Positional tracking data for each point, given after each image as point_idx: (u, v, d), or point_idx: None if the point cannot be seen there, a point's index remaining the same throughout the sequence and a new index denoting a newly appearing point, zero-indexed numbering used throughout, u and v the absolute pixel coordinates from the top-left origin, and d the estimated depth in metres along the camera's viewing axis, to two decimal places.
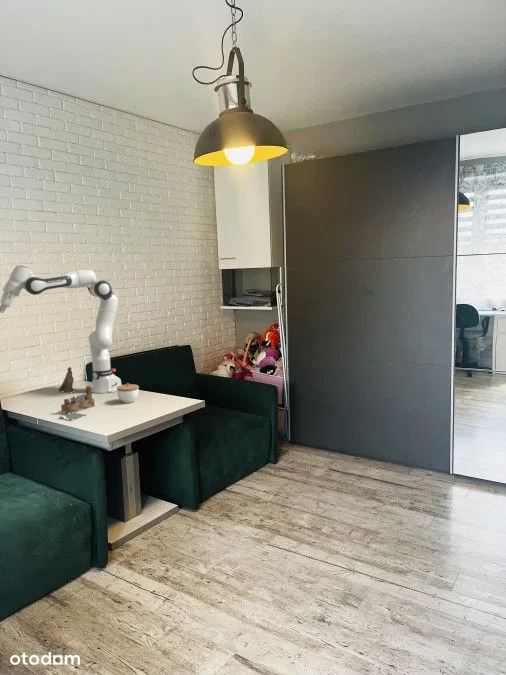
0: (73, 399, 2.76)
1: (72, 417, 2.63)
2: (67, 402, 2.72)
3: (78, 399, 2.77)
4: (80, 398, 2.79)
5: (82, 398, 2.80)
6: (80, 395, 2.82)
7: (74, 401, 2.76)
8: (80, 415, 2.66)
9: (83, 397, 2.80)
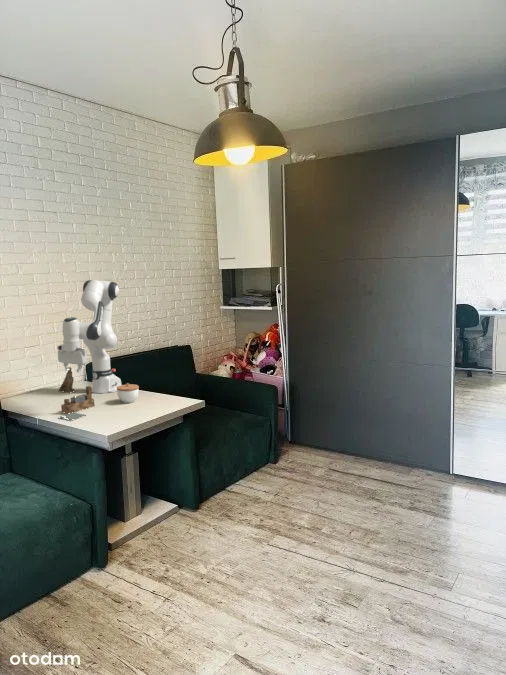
0: (73, 399, 2.76)
1: (72, 417, 2.63)
2: (67, 402, 2.72)
3: (78, 399, 2.77)
4: (80, 398, 2.79)
5: (82, 398, 2.80)
6: (80, 395, 2.82)
7: (74, 401, 2.76)
8: (80, 415, 2.66)
9: (83, 397, 2.80)
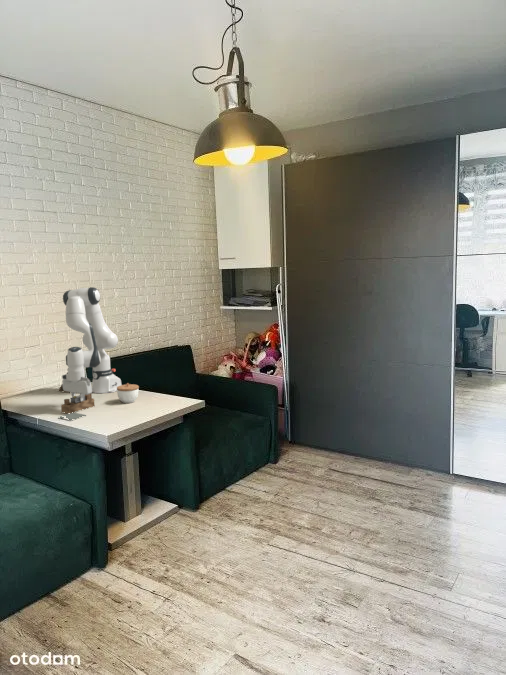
0: (73, 399, 2.76)
1: (72, 417, 2.63)
2: (67, 402, 2.72)
3: (78, 399, 2.77)
4: None
5: None
6: (80, 395, 2.82)
7: (74, 401, 2.76)
8: (80, 415, 2.66)
9: (83, 397, 2.80)
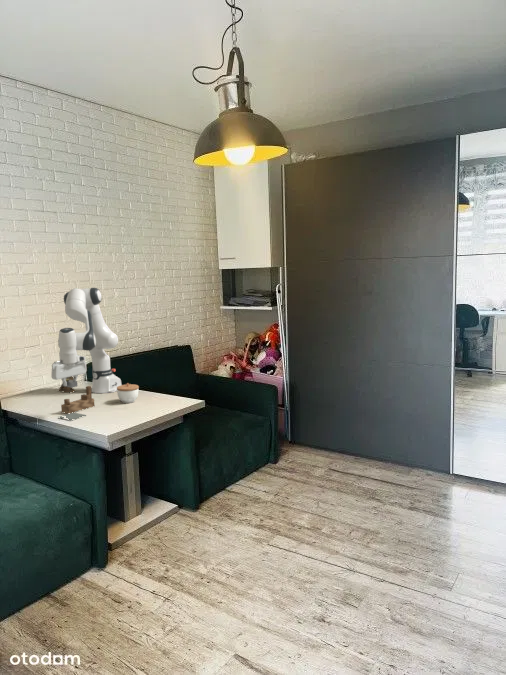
0: None
1: (72, 417, 2.63)
2: (67, 402, 2.72)
3: None
4: None
5: (69, 384, 2.61)
6: (75, 381, 2.62)
7: None
8: (80, 415, 2.66)
9: (70, 383, 2.60)
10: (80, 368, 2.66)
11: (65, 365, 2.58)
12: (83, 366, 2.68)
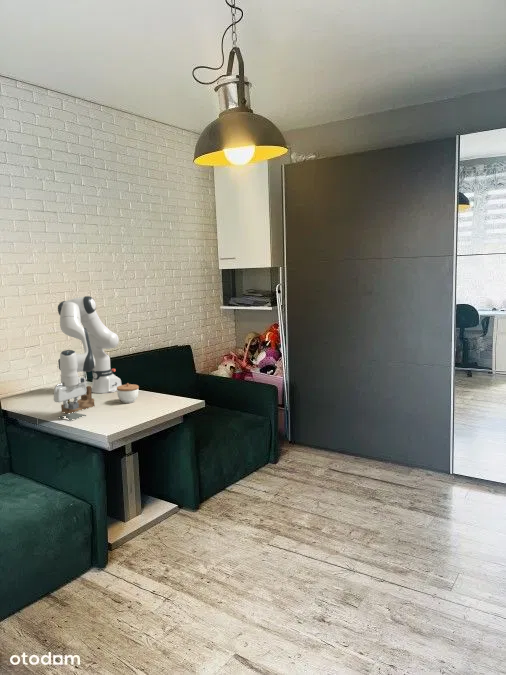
0: None
1: (72, 417, 2.63)
2: None
3: None
4: None
5: (70, 406, 2.62)
6: (76, 402, 2.64)
7: None
8: (80, 415, 2.66)
9: (71, 405, 2.62)
10: (81, 389, 2.68)
11: (67, 387, 2.59)
12: (83, 387, 2.70)
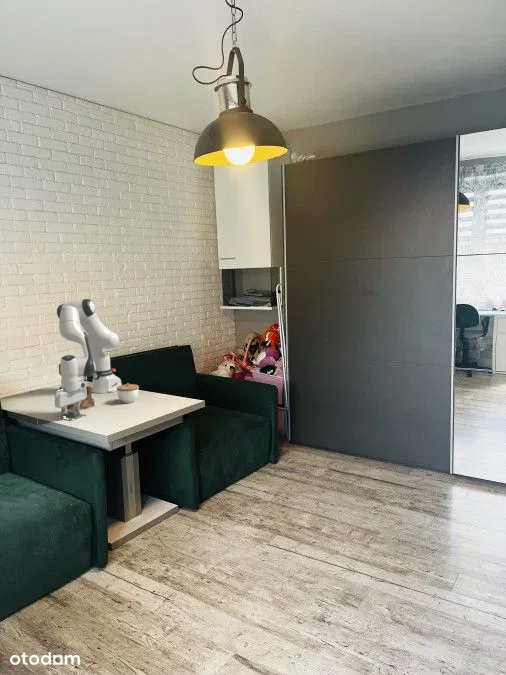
0: None
1: (72, 417, 2.63)
2: None
3: (67, 413, 2.64)
4: (69, 413, 2.64)
5: (71, 414, 2.63)
6: (77, 410, 2.65)
7: None
8: (80, 415, 2.66)
9: (72, 413, 2.63)
10: (81, 394, 2.69)
11: (68, 393, 2.60)
12: (84, 392, 2.70)
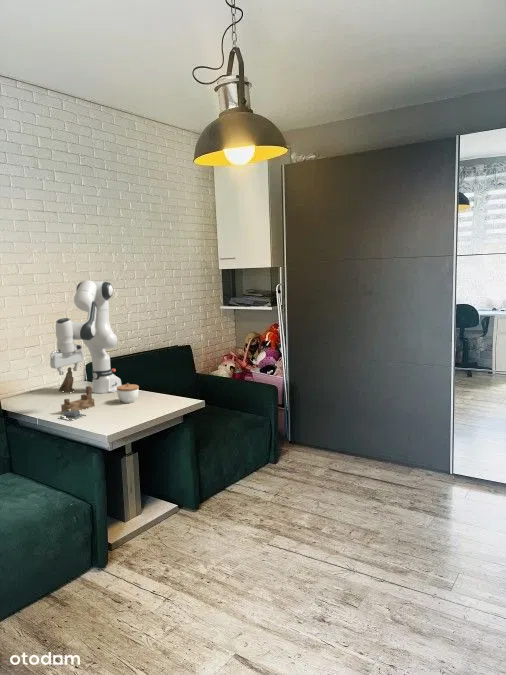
0: None
1: (72, 417, 2.63)
2: (67, 402, 2.72)
3: (67, 413, 2.64)
4: (69, 413, 2.64)
5: (71, 414, 2.63)
6: (77, 410, 2.65)
7: None
8: (80, 415, 2.66)
9: (72, 413, 2.63)
10: (77, 356, 2.76)
11: (63, 354, 2.68)
12: (80, 354, 2.78)
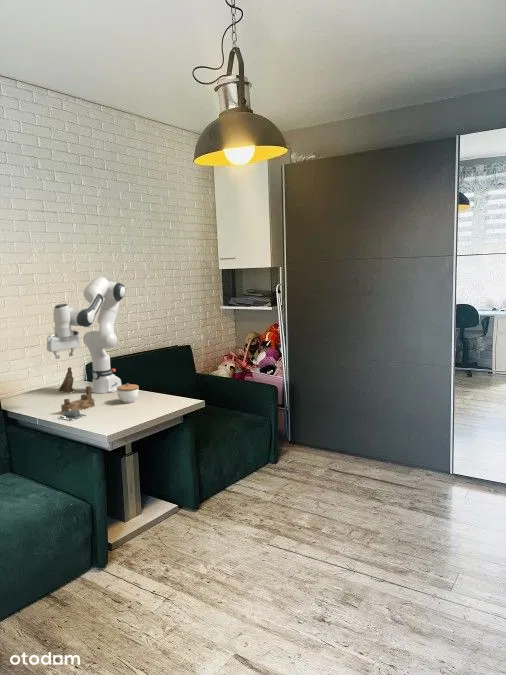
0: None
1: (72, 417, 2.63)
2: (67, 402, 2.72)
3: (67, 413, 2.64)
4: (69, 413, 2.64)
5: (71, 414, 2.63)
6: (77, 410, 2.65)
7: None
8: (80, 415, 2.66)
9: (72, 413, 2.63)
10: (74, 342, 2.84)
11: (60, 338, 2.75)
12: (76, 340, 2.85)
